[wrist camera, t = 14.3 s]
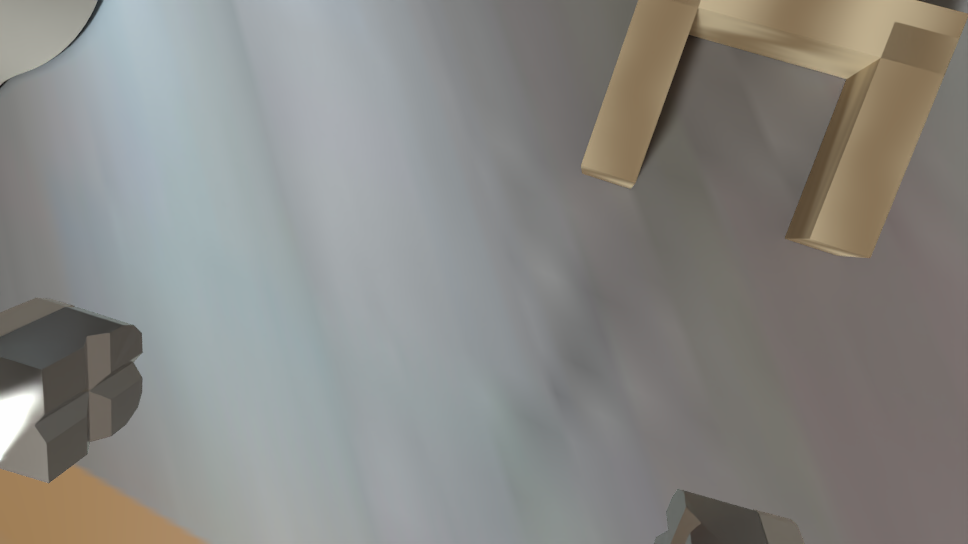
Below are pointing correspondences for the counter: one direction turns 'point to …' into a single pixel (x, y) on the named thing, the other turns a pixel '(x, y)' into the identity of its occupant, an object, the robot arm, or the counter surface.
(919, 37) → the tan u-shaped bracket
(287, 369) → the counter surface
